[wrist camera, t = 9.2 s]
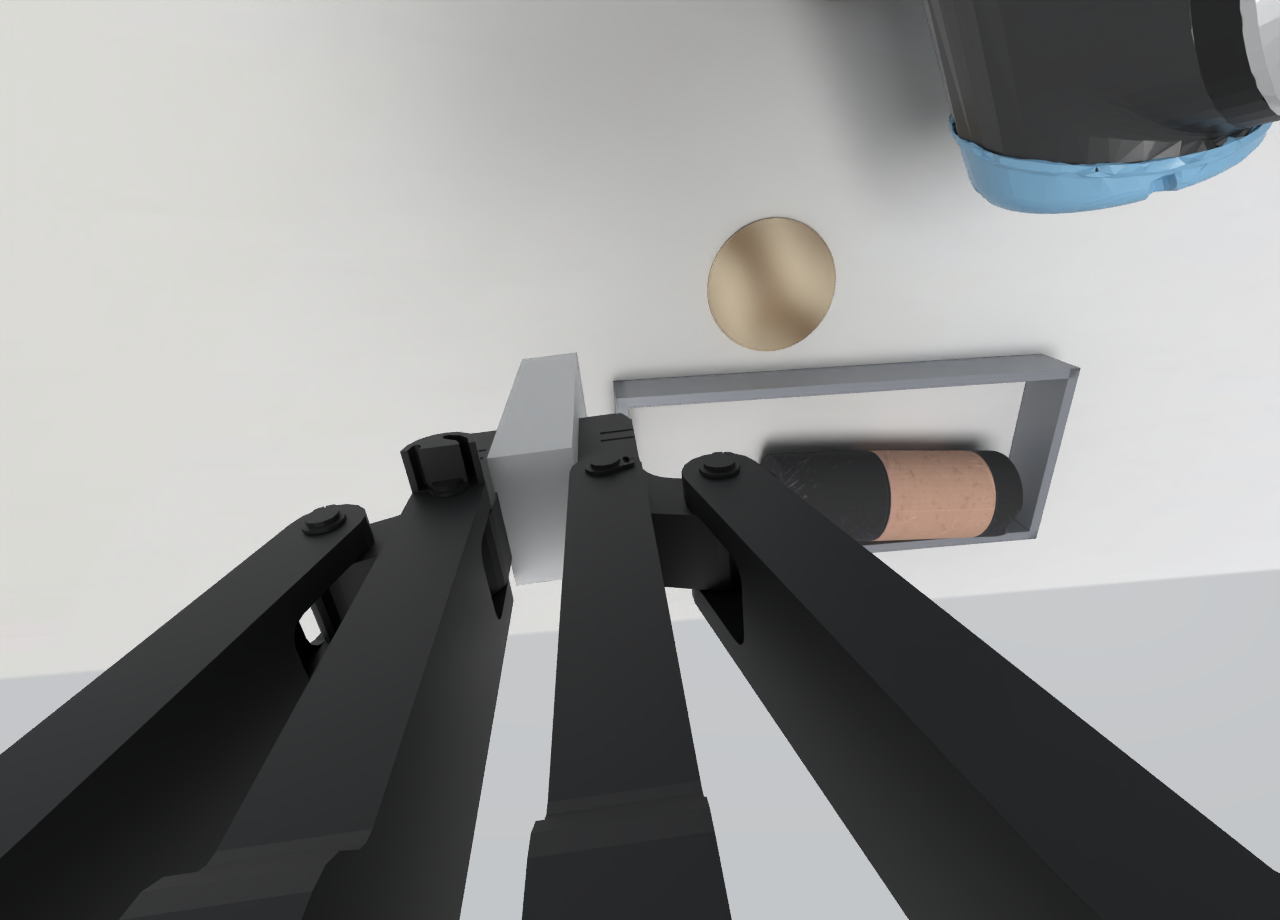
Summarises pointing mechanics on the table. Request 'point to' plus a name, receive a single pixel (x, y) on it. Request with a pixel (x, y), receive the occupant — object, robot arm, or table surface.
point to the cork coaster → (771, 284)
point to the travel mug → (906, 491)
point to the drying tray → (1036, 421)
